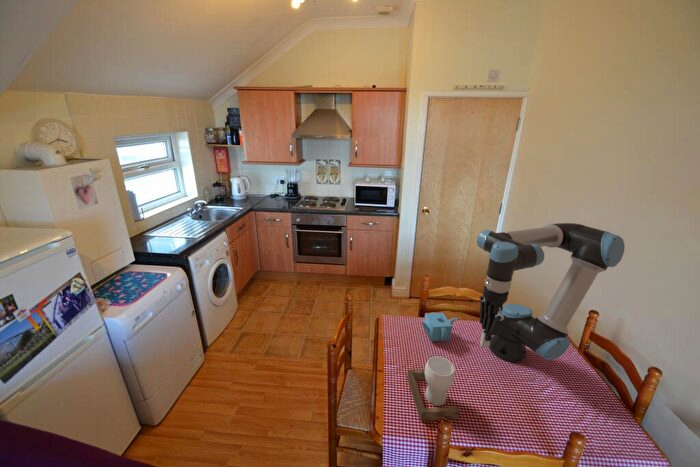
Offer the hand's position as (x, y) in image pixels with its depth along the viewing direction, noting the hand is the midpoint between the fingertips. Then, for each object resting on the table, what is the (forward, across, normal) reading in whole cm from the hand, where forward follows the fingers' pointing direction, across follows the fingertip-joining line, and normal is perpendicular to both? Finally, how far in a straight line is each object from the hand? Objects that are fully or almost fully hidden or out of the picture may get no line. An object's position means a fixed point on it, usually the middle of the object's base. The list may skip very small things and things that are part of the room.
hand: (484, 345), depth 107 cm
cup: (+23, 0, -15) cm, 28 cm away
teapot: (+24, -34, -2) cm, 41 cm away
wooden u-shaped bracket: (+23, 0, -16) cm, 28 cm away
